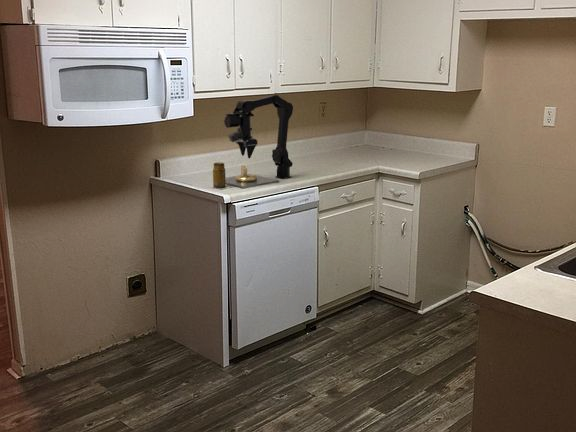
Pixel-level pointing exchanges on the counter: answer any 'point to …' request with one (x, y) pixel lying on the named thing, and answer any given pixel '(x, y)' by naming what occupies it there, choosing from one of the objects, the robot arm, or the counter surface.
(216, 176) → the condiment
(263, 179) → the base plate
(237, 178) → the brass lever handle
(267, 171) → the counter surface
